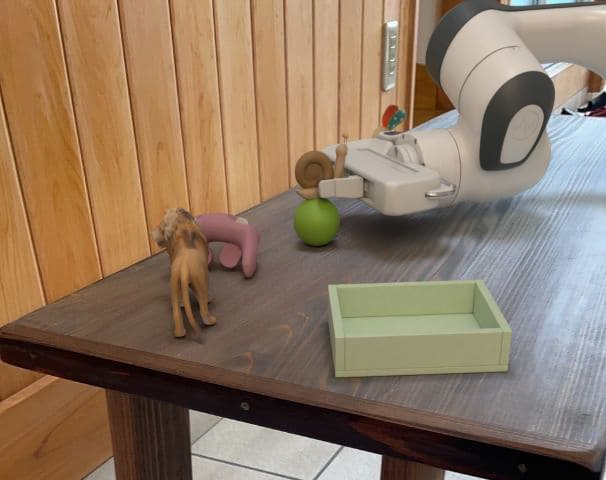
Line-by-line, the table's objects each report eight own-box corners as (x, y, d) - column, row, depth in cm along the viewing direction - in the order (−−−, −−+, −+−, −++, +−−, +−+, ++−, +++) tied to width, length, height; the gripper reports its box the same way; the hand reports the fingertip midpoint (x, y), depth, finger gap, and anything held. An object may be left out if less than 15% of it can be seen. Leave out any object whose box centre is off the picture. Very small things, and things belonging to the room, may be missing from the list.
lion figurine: (156, 293, 89) (145, 204, 84) (206, 288, 90) (198, 199, 85) (176, 347, 78) (164, 248, 73) (233, 340, 79) (226, 241, 74)
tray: (479, 315, 82) (482, 279, 80) (507, 371, 72) (512, 331, 70) (328, 321, 82) (327, 284, 80) (335, 377, 72) (335, 337, 70)
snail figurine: (353, 248, 100) (355, 137, 93) (301, 253, 99) (299, 141, 92) (339, 235, 104) (340, 128, 97) (288, 240, 103) (286, 132, 96)
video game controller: (261, 282, 96) (264, 217, 95) (252, 276, 91) (255, 208, 90) (177, 279, 97) (179, 215, 96) (164, 273, 93) (166, 206, 92)
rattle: (373, 181, 125) (375, 94, 119) (408, 192, 120) (412, 102, 113) (331, 189, 122) (331, 100, 115) (365, 201, 117) (367, 108, 110)
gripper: (462, 221, 95) (349, 238, 91) (382, 181, 111) (283, 194, 107) (467, 160, 91) (349, 175, 88) (383, 128, 107) (280, 139, 103)
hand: (312, 185), depth 97 cm, fingers closed on snail figurine
